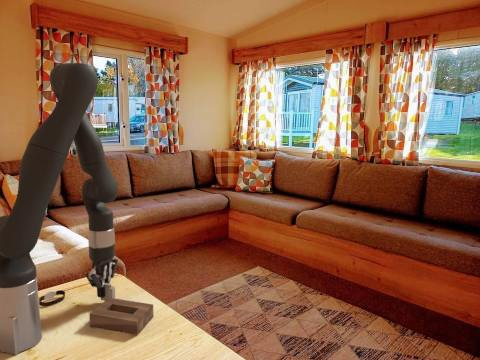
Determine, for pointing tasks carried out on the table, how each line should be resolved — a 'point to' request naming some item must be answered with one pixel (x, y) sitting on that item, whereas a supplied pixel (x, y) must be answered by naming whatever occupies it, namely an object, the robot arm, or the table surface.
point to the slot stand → (121, 316)
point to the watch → (51, 295)
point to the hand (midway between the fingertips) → (103, 295)
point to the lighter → (108, 291)
